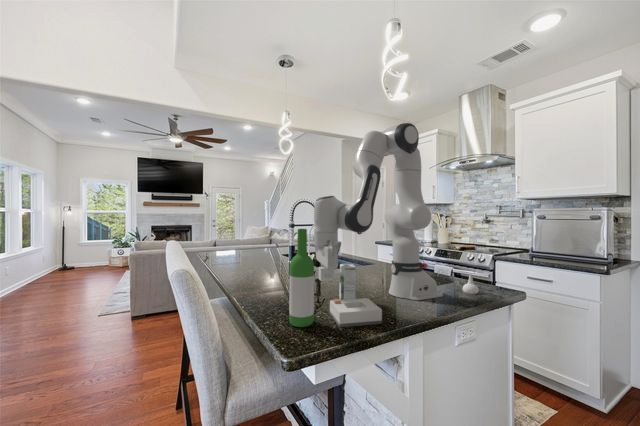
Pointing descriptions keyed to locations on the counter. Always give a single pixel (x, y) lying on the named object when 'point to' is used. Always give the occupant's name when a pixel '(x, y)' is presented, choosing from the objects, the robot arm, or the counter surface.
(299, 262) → the wine bottle
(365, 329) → the counter surface
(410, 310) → the counter surface
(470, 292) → the garlic bulb
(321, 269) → the plug
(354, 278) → the syrup box
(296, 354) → the counter surface
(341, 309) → the socket block
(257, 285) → the counter surface
